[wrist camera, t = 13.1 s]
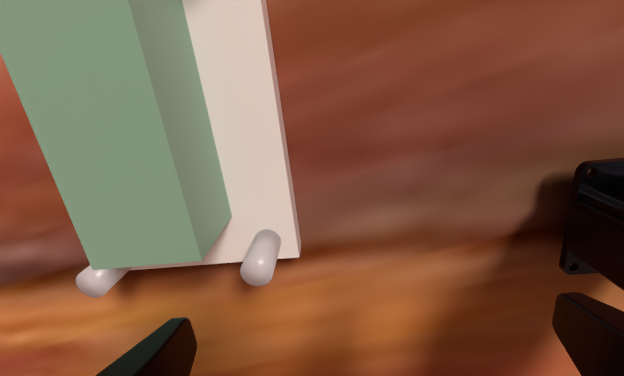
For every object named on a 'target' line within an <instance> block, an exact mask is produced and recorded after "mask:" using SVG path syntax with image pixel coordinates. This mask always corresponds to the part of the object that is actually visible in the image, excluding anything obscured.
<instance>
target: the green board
mask: <svg viewBox="0 0 624 376" xmlns="http://www.w3.org/2000/svg"><path fill="white" fill-rule="evenodd" d="M0 53H1V55H2V57H3V60H4V62H5V65H6V67H7V69H8V72H9V74H10V76H11V79H12V81H13V83H14V86H15V88H16V90H17V93H18V95H19V98H20V100H21V102H22V105H23V107H24V109H25V112H26V114H27V116H28V119H29V121H30V123H31V126H32V128H33V131H34V133H35V135H36V138H37V140H38V142H39V145H40V147H41V149H42V152H43V154H44V157H45V159H46V161H47V164H48V166H49V168H50V171H51V173H52V175H53V178H54V180H55V182H56V185H57V187H58V190H59V192H60V194H61V197H62V199H63V201H64V204H65V206H66V208H67V211H68V213H69V215H70V218H71V220H72V223H73V225H74V227H75V230H76V232H77V234H78V237H79V239H80V241H81V244H82V246H83V248H84V251H85V253H86V256H87V258H88V260H89V263H90V265H91V267H92V270H101V269H112V268H124V267H136V266H147V265H159V264H171V263H182V262H194V261H202V260H203V258H204V257H205V255H206V254H207V252H208V251H209V249H210V248H211V246H212V245H213V244H214V242H215V241H216V239H217V238H218V236H219V235H220V233H221V232H222V230H223V229H224V227H225V226H226V224H227V223H228V221H229V220H230V218H231V217H232V214H231V210H230V205H229V201H228V197H227V192H226V188H225V184H224V179H223V175H222V171H221V166H220V162H219V158H218V153H217V149H216V145H215V141H214V136H213V132H212V128H211V123H210V119H209V115H208V110H207V106H206V102H205V97H204V93H203V89H202V84H201V80H200V76H199V72H198V67H197V63H196V59H195V54H194V50H193V46H192V41H191V37H190V33H189V28H188V24H187V20H186V15H185V11H184V7H183V3H182V0H0Z"/></svg>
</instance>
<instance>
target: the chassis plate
mask: <svg viewBox="0 0 624 376" xmlns="http://www.w3.org/2000/svg"><path fill="white" fill-rule="evenodd" d="M182 3H183V7H184V11H185V15H186V20H187V24H188V28H189V33H190V37H191V41H192V46H193V50H194V54H195V59H196V63H197V67H198V72H199V76H200V80H201V84H202V89H203V93H204V97H205V102H206V106H207V110H208V115H209V119H210V123H211V128H212V132H213V136H214V141H215V145H216V149H217V153H218V158H219V162H220V166H221V171H222V175H223V179H224V184H225V188H226V192H227V197H228V201H229V205H230V210H231V214H232V217H231V218H230V220H229V221H228V223H227V224H226V226H225V227H224V229H223V230H222V232H221V233H220V235H219V236H218V238H217V239H216V241H215V242H214V244H213V245H212V246H211V248H210V249H209V251H208V252H207V254H206V255H205V257H204V258H203V260H202V261H194V262H182V263H171V264H159V265H147V266H136V267H124V268H112V269H101V270H92V267H91V265H90V266H88V267H87V268H86V269H85V270H83V271H82V272H81V273H80V274H79V275H78V276H77V278H76V284H77V287H78V288H79V290H80V291H81V292H82V293H84V294H85V295H87V296H90V297H95V298H97V297H101V296H103V295H104V294H106V293H107V292H108V291H109V290H110V289H111V288H112V287H113V286H114V285H115V284H116V283H117V282H118V281H119V280H120V279H121V278H122V277H123V276H124V275H125V274H126V273H127V272H128V271H129V270H140V269H153V268H167V267H180V266H193V265H206V264H219V263H232V262H243V263H242V266H241V268H240V274H241V277H242V278H243V280H244V281H245V282H247V283H248V284H250V285H253V286H263V285H266V284H267V283H269V282H270V280H271V279H272V276H273V272H274V269H275V265H276V261H277V259H284V258H297V257H299V255H300V249H301V240H300V233H299V226H298V219H297V212H296V205H295V198H294V191H293V184H292V178H291V171H290V164H289V157H288V150H287V143H286V136H285V129H284V122H283V115H282V108H281V102H280V95H279V88H278V81H277V74H276V67H275V60H274V53H273V46H272V39H271V33H270V26H269V19H268V12H267V5H266V0H182Z"/></svg>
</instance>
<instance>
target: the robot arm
mask: <svg viewBox="0 0 624 376" xmlns="http://www.w3.org/2000/svg"><path fill="white" fill-rule="evenodd" d="M589 169H591V172H590V173H589V174H588V175H587V172H588V170H589ZM571 264H572V265H571ZM570 265H571V266H570ZM559 267H560V268H561V269H562V270H563V271H564V272H566V273H567V274H571V275H574V274H589V273H600V274H601V275H603V276H604V277H605V278H607V279H608V280H609V281H611V282H612V283H614V284H615V285H616V286H618V287H619V288H621V289H622V290H623V291H624V158H616V159H605V160H594V161H586V162H583V163H581V164H580V165H579V166H578V167H577V169H576V171H575V177H574V182H573V188H572V194H571V200H570V205H569V210H568V216H567V221H566V227H565V233H564V239H563V244H562V251H561V256H560V262H559ZM552 325H553V328H554V331H555V333H556V335H557V336H558V338H559V339H560V341H561V343H562V344H563V346H564V348H565V349H566V351H567V353H568V354H569V356H570V358H571V359H572V361H573V363H574V364H575V366H576V367H577V369H578V371H579V372H580V374H581V376H624V312H623V311H621V310H619V309H616V308H614V307H612V306H609V305H607V304H605V303H602V302H600V301H598V300H595V299H593V298H591V297H589V296H586V295H584V294H581V293H577V292H574V293H561V294H559V295H558V296H557V297H556V302H555V307H554V313H553V319H552ZM196 350H197V342H196V338H195V335H194V332H193V328H192V325H191V322H190V320H189V319H188V318H186V317H182V318H172V319H170V320H169V321H167V322H166V323H165V324H163V325H162V326H161V327H159V328H158V329H157V330H155V331H154V332H153V333H151V334H150V335H149V336H147V337H146V338H145V339H144V340H142V341H141V342H140V343H138V344H137V345H136V346H134V347H133V348H132V349H130V350H129V351H128V352H126V353H125V354H124V355H122V356H121V357H120V358H118V359H117V360H116V361H114V362H113V363H112V364H110V365H109V366H108V367H106V368H105V369H104V370H102V371H101V372H100V373H98V374H97V375H96V376H190V372H191V369H192V365H193V361H194V358H195V354H196Z"/></svg>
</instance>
